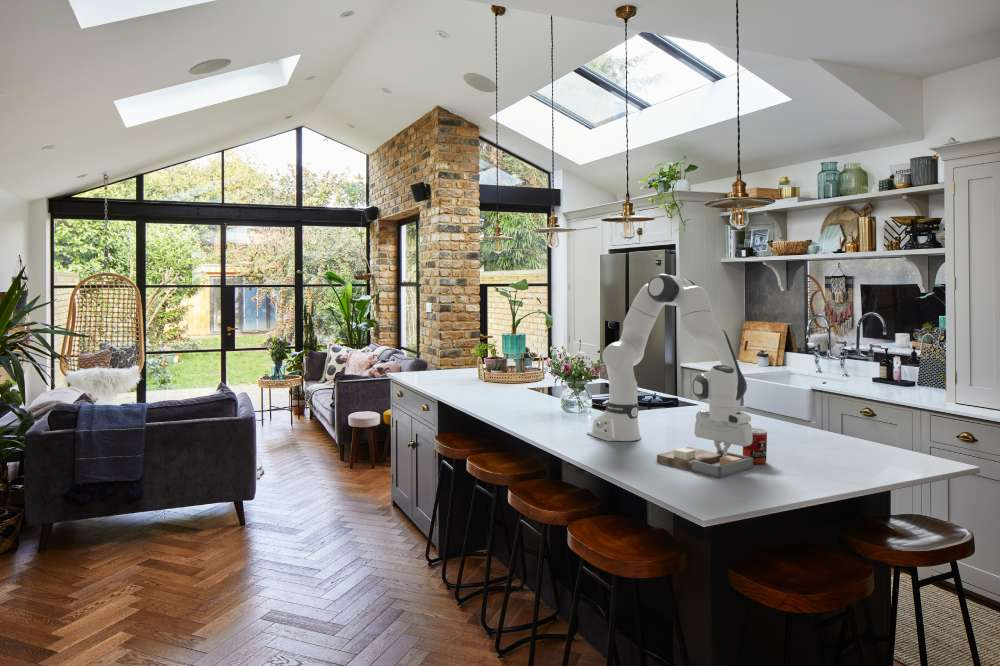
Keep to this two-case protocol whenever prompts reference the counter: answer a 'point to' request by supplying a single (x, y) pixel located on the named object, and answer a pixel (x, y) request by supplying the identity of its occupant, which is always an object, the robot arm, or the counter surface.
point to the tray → (723, 466)
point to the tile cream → (684, 453)
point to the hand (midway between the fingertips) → (722, 454)
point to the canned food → (757, 447)
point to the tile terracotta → (728, 460)
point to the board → (687, 464)
